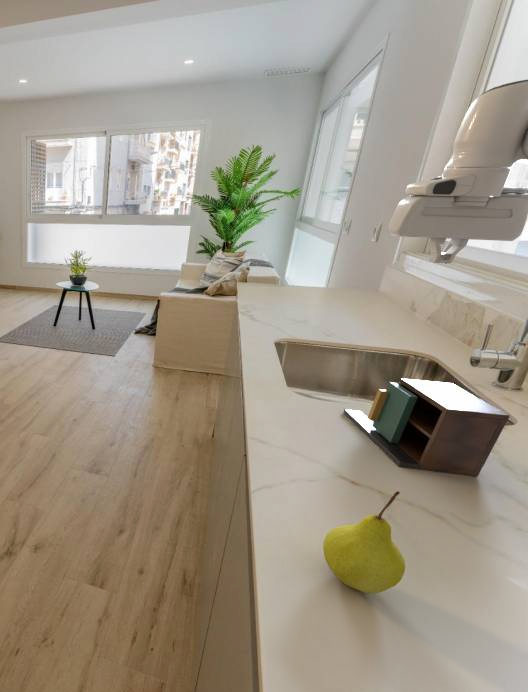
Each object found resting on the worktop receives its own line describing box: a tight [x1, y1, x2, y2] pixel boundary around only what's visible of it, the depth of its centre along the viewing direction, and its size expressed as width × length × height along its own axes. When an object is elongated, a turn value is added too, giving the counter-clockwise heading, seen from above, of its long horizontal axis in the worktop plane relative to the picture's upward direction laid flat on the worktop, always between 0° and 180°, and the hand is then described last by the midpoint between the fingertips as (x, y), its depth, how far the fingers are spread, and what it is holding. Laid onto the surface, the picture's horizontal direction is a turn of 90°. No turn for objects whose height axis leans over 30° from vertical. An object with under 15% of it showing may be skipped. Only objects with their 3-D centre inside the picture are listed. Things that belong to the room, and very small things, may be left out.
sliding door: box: [367, 381, 418, 443], centre depth 75 cm, size 2×6×9 cm, turn 168°
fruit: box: [322, 490, 406, 595], centre depth 46 cm, size 7×7×12 cm
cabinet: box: [342, 378, 510, 478], centre depth 74 cm, size 11×19×11 cm, turn 168°
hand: (439, 262), depth 83 cm, fingers closed
